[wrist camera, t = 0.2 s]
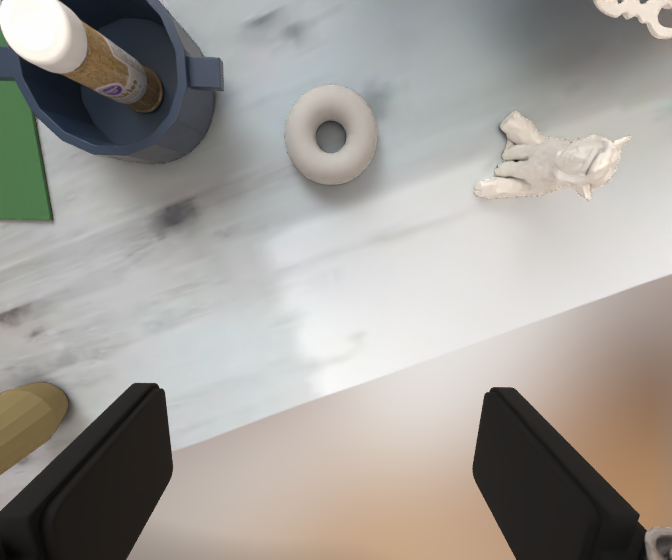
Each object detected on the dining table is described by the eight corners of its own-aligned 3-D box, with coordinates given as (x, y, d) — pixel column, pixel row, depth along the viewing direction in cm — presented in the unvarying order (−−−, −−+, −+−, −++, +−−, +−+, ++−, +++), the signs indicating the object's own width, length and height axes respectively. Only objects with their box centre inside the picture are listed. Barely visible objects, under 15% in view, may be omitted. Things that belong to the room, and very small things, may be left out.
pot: (36, 5, 33) (-47, -49, 25) (237, 17, 33) (212, -33, 26) (61, 159, 36) (-5, 150, 29) (242, 167, 37) (221, 159, 30)
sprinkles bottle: (141, 122, 35) (32, 78, 22) (112, 82, 34) (-21, 11, 21) (174, 97, 35) (82, 36, 22) (145, 56, 34) (31, -34, 21)
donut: (273, 108, 36) (303, 197, 38) (267, 98, 32) (301, 197, 34) (360, 77, 35) (385, 169, 37) (363, 64, 32) (391, 166, 34)
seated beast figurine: (503, 111, 36) (586, 70, 25) (570, 137, 37) (682, 109, 25) (469, 194, 38) (531, 193, 27) (533, 217, 39) (621, 225, 28)
